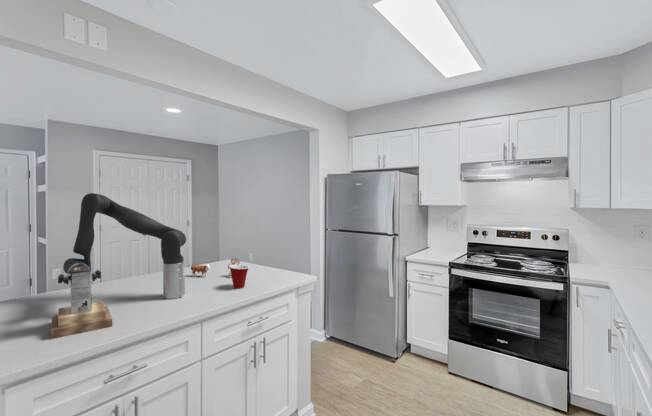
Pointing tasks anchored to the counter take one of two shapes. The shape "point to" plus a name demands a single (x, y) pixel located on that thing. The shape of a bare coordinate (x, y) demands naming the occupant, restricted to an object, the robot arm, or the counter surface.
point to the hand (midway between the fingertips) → (80, 280)
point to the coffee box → (81, 289)
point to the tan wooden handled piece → (229, 267)
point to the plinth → (79, 326)
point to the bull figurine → (200, 269)
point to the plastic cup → (238, 275)
